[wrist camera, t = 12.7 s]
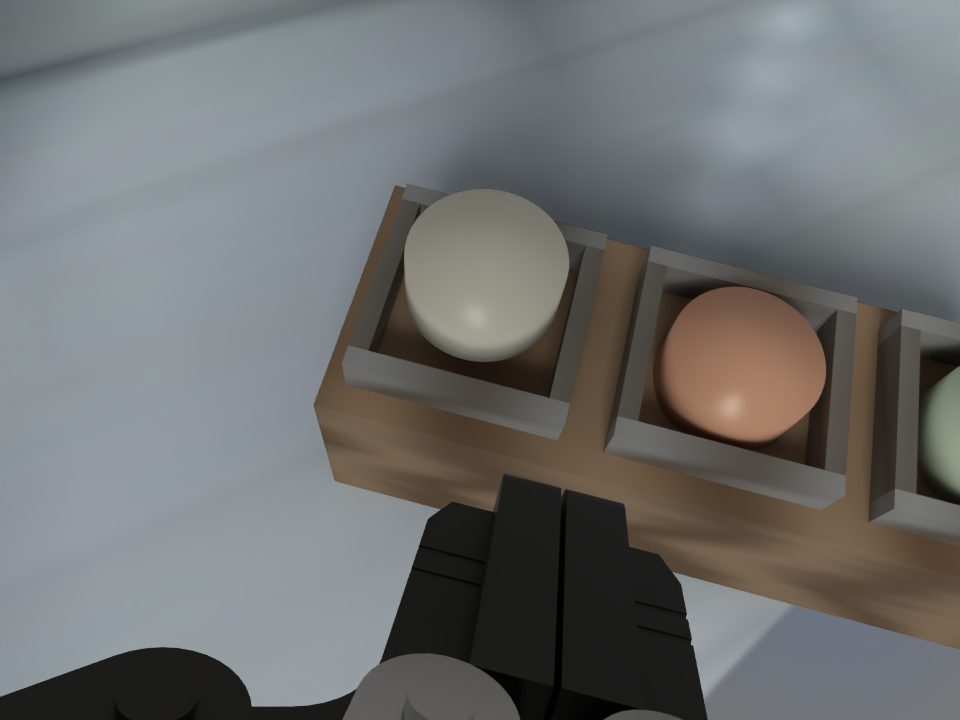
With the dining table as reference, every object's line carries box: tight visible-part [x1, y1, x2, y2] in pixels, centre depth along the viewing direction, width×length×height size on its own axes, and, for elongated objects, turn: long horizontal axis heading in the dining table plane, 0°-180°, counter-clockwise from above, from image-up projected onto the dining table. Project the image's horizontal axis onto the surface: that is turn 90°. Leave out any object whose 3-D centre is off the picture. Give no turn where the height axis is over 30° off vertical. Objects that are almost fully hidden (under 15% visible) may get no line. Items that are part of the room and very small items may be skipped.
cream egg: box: [404, 189, 569, 362], centre depth 25 cm, size 5×5×2 cm
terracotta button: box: [653, 287, 826, 451], centre depth 26 cm, size 5×5×2 cm
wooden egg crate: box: [314, 184, 960, 649], centre depth 29 cm, size 24×8×9 cm, turn 76°
